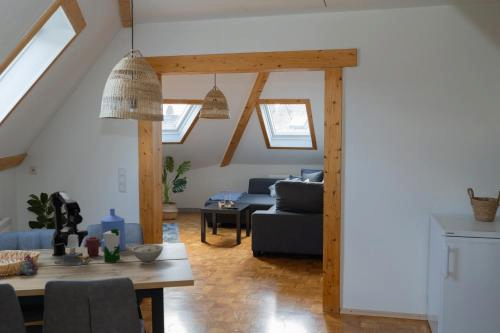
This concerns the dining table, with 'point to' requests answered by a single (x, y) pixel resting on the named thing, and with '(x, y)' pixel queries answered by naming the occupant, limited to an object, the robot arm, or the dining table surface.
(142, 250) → the bowl
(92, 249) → the mechanical component
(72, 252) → the gray square beam
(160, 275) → the dining table surface
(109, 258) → the milk carton
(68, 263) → the square socket plate
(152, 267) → the dining table surface
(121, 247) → the water jug
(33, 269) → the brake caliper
